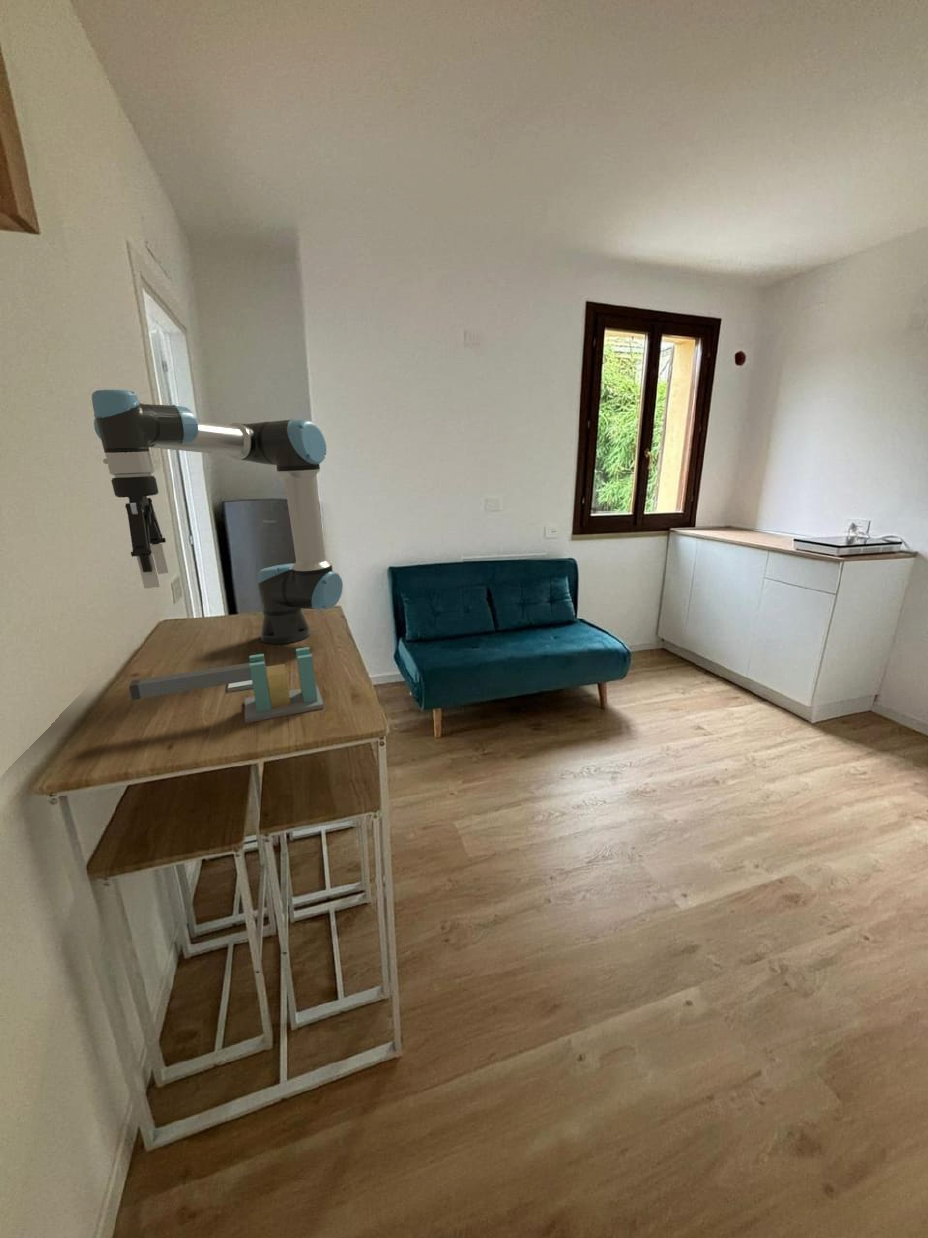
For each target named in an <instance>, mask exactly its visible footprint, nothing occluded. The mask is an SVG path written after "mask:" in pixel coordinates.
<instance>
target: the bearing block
mask: <svg viewBox="0 0 928 1238" xmlns="http://www.w3.org/2000/svg"><path fill="white" fill-rule="evenodd" d="M295 653H296V655H295V656H296V663H297V669H298V676H299V684H300V688H297V689H290V690H289V697H290V705H288V706H283V707H277V708H272V706H271V700H270V693H269V687H268V680H267V669H266V667H267V666H266V660H265V654H264V653H259V654H253V655H249V663H250V671H251V677H252V684H253V688H252V689H253V695H254V696H251V697H246V698H245V697H244V721H245V724H249V723H253V722H257V721H264V720H267V719H274V718H278V717H285V716H290V715H295V714H299V713H300V714H301V713H307V712H310V711H315V710H316V711H317V710H322V709H324V707H325V705H324V702H323V698H322V696H321V692H320V689H319V686H318V685H316V677H315V667H314V660H313V654H312V653H311V649H310V646H306V647H301V648H299V647H298V648H296V649H295ZM258 661H263V662H258ZM251 662H256V663H251Z"/></svg>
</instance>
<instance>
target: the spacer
mask: <svg viewBox="0 0 928 1238" xmlns="http://www.w3.org/2000/svg"><path fill="white" fill-rule="evenodd" d="M266 672H267V680H268V687H269V693H270V700H271V706H272V708H277V707H283V706H288V705H290V697H289V691H290V690H289V685H288V678H287V677H288V676H287V669H286V665H285V663H283V664H281V663H280V664H275V665H269V666H266Z"/></svg>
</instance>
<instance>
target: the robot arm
mask: <svg viewBox="0 0 928 1238" xmlns="http://www.w3.org/2000/svg"><path fill="white" fill-rule="evenodd" d="M91 401H92V402H91V403H92V405H91V406H92V409H93V417H94V420H93V427H94V431H95V434H96V435H97V436H98V438H99V439H100V441H101V444H102V447H103V448H102V449H103V451H104V454H105V458H103V459H102V460H103V464H105V465H107V467H108V471H109V474H110V475H113V478H112V479H111V484H112V485H111V486H112V490H113V493H114V495H115V497H116V498H128V502H127V503H125V506H124V507H125V508H126V513H127V519H128V527H129V532H130V538H131V547H132V551H130V555H131V557H132V558H133V557H136V559H137V564H138V567H139V572H140V575H141V579H142V584H143V587H144V589H151V588H152V589H153V588H154V589H155V588H158V587H159V588H160V587H161V581H160V579H159V574H160V575H161V574H163V575H164V574H169V573H170V571H169V566H168V562H167V558H166V553H165V548H164V545H163V544H164V543H167V542H166V541H167V540H166V538H165V537H163V533H162V532H161V529H160V526H159V522H158V519H157V515H156V511H155V510H154V505H153V500H152V498H151V497H150V496H157V495H158V494H159V488H158V484H157V479H156V477H155V476H154V475H152V474H153V473H154V472H155V469H154V463H153V459H152V455H151V452H150V448H153V449H163V450H171V451H183V452H192V453H193V452H194V453H205V454H214V455H216V454H217V455H224V456H225V455H226V456H229V457H230V458H232V459H233V460H237V461H245V462H252V463H258V464H263V465H269V466H275V467H276V472H277V473H278V474H279V475H280V476H281V477H282V478H283V479H284V486H285V488H284V489H285V493H286V494H285V495H286V501H287V507H288V509H287V510H288V515H289V519H290V520H289V521H290V527H291V534H292V540H293V541H292V542H293V549H294V555H295V563H285V564H279V565H273V566H269V567H265V568H261V569H260V570H259V571H258V574H257V579H258V582H257V583H258V584H257V585H258V589H259V590H258V591H259V595H260V600H261V608H262V612H263V613H262V614H263V617H262V623H261V626H260V627H261V628H260V640H261V641H262V642H263V643H265V644H271V645H281V644H282V645H283V644H290V643H294V642H298V641H301V640H305V639H306V638H308V637H309V636H310V635H311V628H310V625H309V623H308V621H307V618H306V617H305V615H304V613H303V609H308V610H309V609H310V610H314V611H322V610H325V611H327V610H331V609H333V608H335V606H336V605H337V604H338V603H339V601H340V599H341V596H342V593H343V588H344V587H343V586H344V585H343V579H342V577H341V575H340V574H339V573H338V572H336V571H333V564H332V562H331V561H330V560H328V559H327V557H326V556H327V555H326V549H325V547H326V546H325V543H324V542H325V541H324V533H323V526H322V519H321V511H320V509H321V508H320V502H319V494H318V487H317V486H318V485H317V478H316V476H317V474H319V472H320V471H321V469H320V468H321V467H320V464H321V463H322V462H323V461H324V460H325V459H326V454H327V444H326V440H325V436H324V434H323V432H322V431H321V430H320V428H318V426H317V424H315V423H314V422H312V421H311V420H308V419H296V418H294V419H287V420H286V419H285V420H284V419H283V420H276V421H275V420H273V421H262V422H252V423H239V422H232V423H230V424H229V425H227V424H222V423H221V424H220V423H215V422H214V423H213V422H209V421H208V422H207V421H201V420H198V419H197V417H196V415H195V413H194V412H193V411H192V410H191V409H189V408H188V407H187V406H185V407H184V406H180V405H179V406H178V405H175V404H172V405H169V404H167V405H166V404H146V403H141V402H140V400H139V398H138V395H137V394H136V393H135V392H134V391H133V390H127V389H100V390H99V389H98V390H95V391H93V392H92V394H91Z"/></svg>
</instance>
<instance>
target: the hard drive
mask: <svg viewBox="0 0 928 1238" xmlns="http://www.w3.org/2000/svg"><path fill="white" fill-rule="evenodd" d="M250 689H253V684H252V680H249V681H243V682H237V683H231V684H227V693H229V692H230V693H231V692H236V691H237V692H238V691H243V690H250Z"/></svg>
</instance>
